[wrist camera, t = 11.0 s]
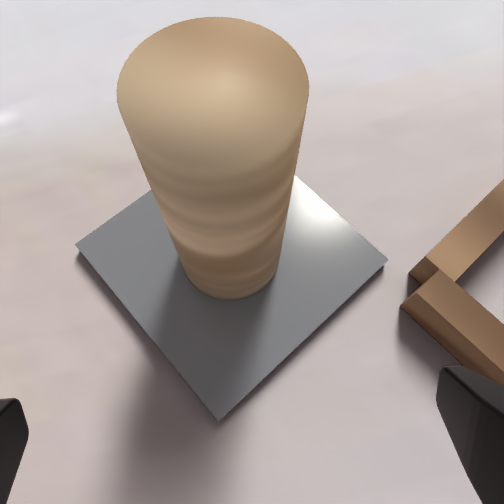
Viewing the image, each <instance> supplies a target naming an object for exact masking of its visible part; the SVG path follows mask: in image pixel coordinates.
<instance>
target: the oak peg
mask: <svg viewBox="0 0 504 504" xmlns="http://www.w3.org/2000/svg"><path fill="white" fill-rule="evenodd" d="M308 96H309V82H308V76H307V72H306V69H305V66H304V64H303V62H302V60H301V58H300V57H299V55H298V54H297V52H296V51H295V50H294V49H293V48H292V47H291V46H290V44H289V43H287V42H286V41H285V40H284V39H283V38H282V37H280V36H279V35H277V34H276V33H274V32H273V31H271V30H269V29H267V28H265V27H263V26H260V25H258V24H255V23H252V22H249V21H245V20H241V19H235V18H227V17H204V18H196V19H191V20H186V21H182V22H179V23H176V24H173V25H171V26H168V27H166V28H164V29H162V30H160V31H158V32H156V33H154V34H153V35H151V36H150V37H148V38H147V39H146V40H144V41H143V42H142V43H141V44H140V45H139V46H138V47H137V48H136V49H135V50H134V51H133V52H132V53H131V54H130V56H129V57H128V59H127V60H126V62H125V63H124V66H123V68H122V70H121V72H120V75H119V79H118V83H117V103H118V107H119V111H120V113H121V116H122V118H123V121H124V123H125V126H126V128H127V131H128V133H129V135H130V138H131V140H132V143H133V145H134V148H135V150H136V153H137V155H138V158H139V160H140V163H141V165H142V167H143V170H144V172H145V175H146V177H147V180H148V182H149V185H150V187H151V190H152V192H153V195H154V197H155V199H156V202H157V204H158V207H159V209H160V212H161V214H162V217H163V219H164V222H165V224H166V226H167V229H168V231H169V234H170V236H171V239H172V241H173V244H174V246H175V249H176V251H177V254H178V256H179V258H180V261H181V263H182V266H183V268H184V271H185V273H186V275H187V277H188V279H189V280H190V281H191V283H192V284H193V285H194V286H195V287H196V288H197V289H198V290H200V291H201V292H203V293H204V294H206V295H208V296H210V297H213V298H216V299H221V300H239V299H244V298H247V297H250V296H252V295H254V294H256V293H257V292H259V291H261V290H262V289H263V288H264V287H265V286H266V285H267V284H268V283H269V282H270V281H271V279H272V278H273V276H274V275H275V273H276V270H277V268H278V264H279V259H280V254H281V248H282V242H283V237H284V231H285V226H286V220H287V214H288V209H289V203H290V198H291V192H292V186H293V181H294V175H295V169H296V164H297V158H298V153H299V147H300V141H301V136H302V130H303V124H304V119H305V113H306V108H307V102H308Z"/></svg>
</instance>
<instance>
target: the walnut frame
mask: <svg viewBox="0 0 504 504" xmlns="http://www.w3.org/2000/svg"><path fill="white" fill-rule="evenodd" d="M503 231H504V180H502V181H501V182H500V183H499V184H498V185H497V186H496V187H495V188H494V189H493V190H492V191H491V192H490V193H489V194H488V195H487V196H486V197H485V198H484V199H483V200H482V201H481V202H480V203H479V204H478V205H477V206H476V207H475V208H474V209H473V210H472V211H471V212H470V213H469V214H468V215H467V216H466V217H465V218H464V219H463V220H462V221H461V222H460V223H459V224H458V225H457V226H456V227H455V228H454V229H453V230H452V231H450V232H449V233H448V234H447V235H446V236H445V237H444V238H443V239H442V240H441V241H440V242H439V243H438V244H437V245H436V246H435V247H434V248H433V249H432V250H431V251H430V252H429V253H428V254H427V255H426V256H425V257H424V258H423V259H422V260H421V261H420V262H419V263H418V264H417V265H416V266H415V267H414V268H413V269H412V270H411V271H410V272H409V274H410V275H411V276H412V277H413V278H415V279H416V280H417V281H418V282H419V283H420V284H421V285H420V286H419V287H418V288H417V289H416V290H415V291H414V292H413V293H412V294H411V295H410V296H409V297H408V298H407V299H406V300H405V301H404V302H403V303H402V304H401V305H400V307H401V308H402V309H403V310H405V311H406V312H407V313H408V314H409V315H410V316H411V317H412V318H413V319H414V320H415V321H416V322H417V323H418V324H420V325H421V326H422V327H423V328H424V329H425V330H426V331H427V332H428V333H429V334H430V335H431V336H432V337H433V338H435V339H436V340H437V341H438V342H439V343H440V344H441V345H442V346H443V347H444V348H445V349H446V350H447V351H448V352H449V353H451V354H452V355H453V356H454V357H455V358H456V359H457V360H458V361H459V362H460V363H461V364H462V365H463V366H464V367H466V368H468V369H470V370H472V371H474V372H476V373H478V374H480V375H482V376H484V377H486V378H488V379H490V380H492V381H494V382H495V383H497V384H499V385H501V386H503V387H504V324H503V323H501V322H500V321H499V320H498V319H497V318H496V317H494V316H493V315H492V314H491V313H490V312H489V311H488V310H486V309H485V308H484V307H483V306H482V305H481V304H480V303H478V302H477V301H476V300H475V299H474V298H473V297H472V296H470V295H469V294H468V293H467V292H466V291H465V290H463V289H462V288H461V287H460V286H459V285H458V284H457V283H455V281H456V280H457V279H458V278H459V277H460V276H461V275H462V274H463V273H464V272H465V271H466V269H467V268H468V267H469V266H470V265H471V264H472V263H473V262H474V261H475V260H476V259H477V258H478V257H479V256H480V255H481V254H482V253H483V252H484V251H485V250H486V249H487V248H488V247H489V246H490V245H491V244H492V243H493V241H494V240H495V239H496V238H497V237H498V236H499V235H500V234H501V233H502V232H503Z"/></svg>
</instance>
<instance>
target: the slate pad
mask: <svg viewBox="0 0 504 504" xmlns="http://www.w3.org/2000/svg"><path fill="white" fill-rule="evenodd" d="M75 245H76V246H77V248H78V249H79V250H80V251H81V253H82V254H83V255H84V256H85V258H86V259H87V260H88V261H89V263H90V264H91V265H92V266H93V267H94V269H95V270H96V271H97V272H98V274H99V275H100V276H101V277H102V279H103V280H104V281H105V282H106V283H107V285H108V286H109V287H110V288H111V290H112V291H113V292H114V293H115V295H116V296H117V297H118V298H119V300H120V301H121V302H122V303H123V304H124V306H125V307H126V308H127V309H128V311H129V312H130V313H131V314H132V316H133V317H134V318H135V319H136V321H137V322H138V323H139V324H140V325H141V327H142V328H143V329H144V330H145V332H146V333H147V334H148V335H149V337H150V338H151V339H152V340H153V341H154V343H155V344H156V345H157V346H158V348H159V349H160V350H161V351H162V353H163V354H164V355H165V356H166V358H167V359H168V360H169V361H170V362H171V364H172V365H173V366H174V367H175V369H176V370H177V371H178V372H179V374H180V375H181V376H182V377H183V378H184V380H185V381H186V382H187V383H188V385H189V386H190V387H191V388H192V390H193V391H194V392H195V393H196V395H197V396H198V397H199V398H200V399H201V401H202V402H203V403H204V404H205V406H206V407H207V408H208V409H209V411H210V412H211V413H212V414H213V415H214V417H215V418H216V419H217V420H218V421H220V420H221V419H222V418H223V417H224V416H226V415H227V414H228V413H229V412H230V411H231V410H232V409H233V408H234V407H235V406H236V405H237V404H238V403H239V402H240V401H241V400H242V399H243V398H244V397H246V396H247V395H248V394H249V393H250V392H251V391H252V390H253V389H254V388H255V387H256V386H257V385H258V384H259V383H260V382H261V381H262V380H263V379H264V378H266V377H267V376H268V375H269V374H270V373H271V372H272V371H273V370H274V369H275V368H276V367H277V366H278V365H279V364H280V363H281V362H282V361H283V360H284V359H286V358H287V357H288V356H289V355H290V354H291V353H292V352H293V351H294V350H295V349H296V348H297V347H298V346H299V345H300V344H301V343H302V342H303V341H304V340H306V339H307V338H308V337H309V336H310V335H311V334H312V333H313V332H314V331H315V330H316V329H317V328H318V327H319V326H320V325H321V324H322V323H323V322H325V321H326V320H327V319H328V318H329V317H330V316H331V315H332V314H333V313H334V312H335V311H336V310H337V309H338V308H339V307H340V306H341V305H342V304H343V303H345V302H346V301H347V300H348V299H349V298H350V297H351V296H352V295H353V294H354V293H355V292H356V291H357V290H358V289H359V288H360V287H361V286H362V285H363V284H365V283H366V282H367V281H368V280H369V279H370V278H371V277H372V276H373V275H374V274H375V273H376V272H377V271H378V270H379V269H380V268H381V267H382V266H383V265H385V263H386V262H387V261H388V259H387V258H386V257H385V256H384V255H383V254H382V253H381V252H379V251H378V250H377V249H376V248H375V247H374V246H373V245H372V244H371V243H369V242H368V241H367V240H366V239H365V238H364V237H363V236H362V235H361V234H360V233H358V232H357V231H356V230H355V229H354V228H353V227H352V226H351V225H350V224H348V223H347V222H346V221H345V220H344V219H343V218H342V217H341V216H340V215H338V214H337V213H336V212H335V211H334V210H333V209H332V208H331V207H330V206H329V205H327V204H326V203H325V202H324V201H323V200H322V199H321V198H320V197H319V196H317V195H316V194H315V193H314V192H313V191H312V190H311V189H310V188H309V187H307V186H306V185H305V184H304V183H303V182H302V181H301V180H300V179H299V178H298V177H296V176H295V175H294V181H293V186H292V192H291V198H290V203H289V209H288V214H287V220H286V226H285V231H284V237H283V242H282V248H281V254H280V259H279V264H278V268H277V270H276V273H275V275H274V276H273V278H272V279H271V281H270V282H269V283H268V284H267V285H266V286H265V287H264V288H263V289H262V290H261V291H259V292H257V293H256V294H254V295H252V296H250V297H247V298H244V299H239V300H221V299H216V298H213V297H210V296H208V295H206V294H204V293H203V292H201V291H200V290H198V289H197V288H196V287H195V286H194V285H193V284H192V283H191V281H190V280H189V279H188V277H187V275H186V273H185V271H184V268H183V266H182V263H181V261H180V258H179V256H178V254H177V251H176V249H175V246H174V244H173V241H172V239H171V236H170V234H169V231H168V229H167V226H166V224H165V222H164V219H163V217H162V214H161V212H160V209H159V207H158V204H157V202H156V199H155V197H154V195H153V192H152V190H150V191H149V192H147V193H146V194H145V195H143V196H142V197H140V198H139V199H138V200H136V201H135V202H133V203H132V204H131V205H129V206H128V207H126V208H125V209H124V210H122V211H121V212H119V213H118V214H117V215H115V216H114V217H112V218H111V219H110V220H108V221H107V222H105V223H104V224H103V225H101V226H100V227H99V228H97V229H96V230H94V231H93V232H92V233H90V234H89V235H87V236H86V237H85V238H83V239H82V240H80V241H79V242H78V243H76V244H75Z"/></svg>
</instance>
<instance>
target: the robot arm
mask: <svg viewBox="0 0 504 504" xmlns="http://www.w3.org/2000/svg"><path fill="white" fill-rule="evenodd" d="M436 402H437V407H438V409H439V412H440V414H441V416H442V419H443V421H444V423H445V426H446V428H447V430H448V433H449V435H450V437H451V440H452V442H453V444H454V447H455V449H456V451H457V454H458V456H459V458H460V460H461V463H462V465H463V467H464V469H465V471H466V474H467V476H468V478H469V480H470V481H471V483H472V485H473V487H474V489H475V491H476V493H477V494H478V496H479V498H480V500H481V502H482V503H483V504H504V387H503V386H501V385H499V384H497V383H495V382H494V381H492V380H490V379H488V378H486V377H484V376H482V375H480V374H478V373H476V372H474V371H472V370H470V369H468V368H466V367H464V366H462V365H449V366H443V367H442V368H441V369H440V372H439V378H438V386H437V393H436ZM28 436H29V430H28V425H27V422H26V419H25V415H24V412H23V409H22V406H21V403H20V401H19V400H18V399H16V398H8V399H0V504H6V503H7V500H8V497H9V494H10V491H11V488H12V485H13V482H14V479H15V476H16V473H17V470H18V468H19V465H20V462H21V459H22V456H23V453H24V450H25V447H26V444H27V441H28Z"/></svg>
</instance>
